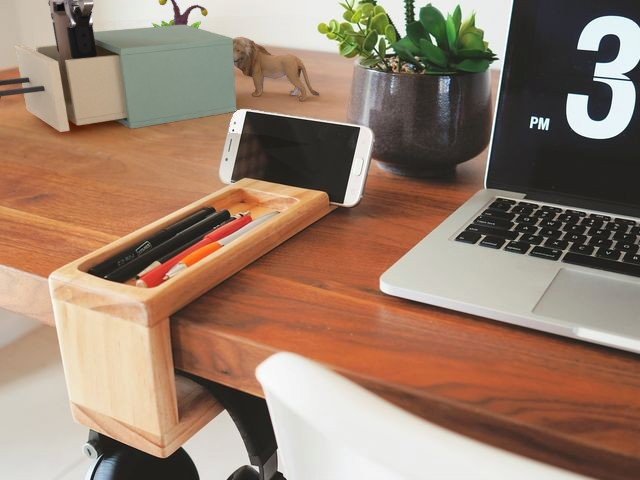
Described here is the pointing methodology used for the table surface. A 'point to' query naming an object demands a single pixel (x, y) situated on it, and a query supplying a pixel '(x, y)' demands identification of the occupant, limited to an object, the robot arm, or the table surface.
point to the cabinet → (172, 73)
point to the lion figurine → (269, 66)
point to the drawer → (69, 86)
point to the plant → (181, 18)
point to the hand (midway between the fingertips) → (77, 53)
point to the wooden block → (62, 37)
